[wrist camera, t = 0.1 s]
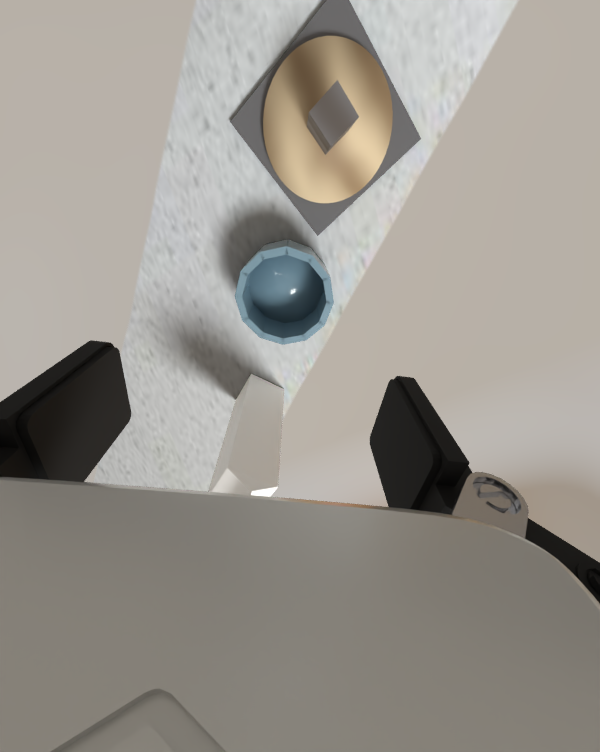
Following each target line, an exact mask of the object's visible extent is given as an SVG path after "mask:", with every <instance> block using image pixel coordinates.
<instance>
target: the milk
mask: <svg viewBox="0 0 600 752" xmlns="http://www.w3.org/2000/svg"><path fill="white" fill-rule="evenodd" d="M283 404H284V389H283V388H281V387H278V386H276V385H274V384H272V383H270V382H268V381H266V380H264V379H262V378H260V377H258V376H255V375H253V374H251V375H250V377H249V378H248V380H247V382H246V383H245V385H244V387H243V389H242V390H241V392H240V394H239V395H238V397H237V399H236V401H235V404H234V407H233V411H232V414H231V417H230V421H229V424H228V427H227V431H226V434H225V437H224V441H223V444H222V447H221V451H220V454H219V457H218V461H217V464H216V467H215V471H214V474H213V477H212V481H211V484H210V487H209V491H208V492H218V493H231V494H243V495H255V496H268V497H270V496H271V495H272V494H273V493H274V491H275V490H276V489H277V488H278V483H279V467H280V452H281V436H282V420H283Z"/></svg>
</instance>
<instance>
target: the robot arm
mask: <svg viewBox="0 0 600 752" xmlns="http://www.w3.org/2000/svg"><path fill="white" fill-rule="evenodd" d="M130 417H131V409H130V404H129V399H128V394H127V389H126V383H125V378H124V373H123V368H122V363H121V358H120V353H119V350H118V349H117V348H115V347H114V346H113V344H111V343H108V342H99V341H89V342H87V343H86V344H84V345H83V346H81V347H80V348H78V349H77V350H76V351H74V352H73V353H72V354H70V355H68V356H67V357H65V358H64V359H62V360H61V361H60V362H58V363H57V364H55V365H54V366H53V367H51V368H49V369H48V370H46V371H45V372H44V373H42V374H41V375H39V376H38V377H36V378H35V379H33V380H32V381H31V382H29V383H28V384H26V385H25V386H23V387H22V388H20V389H19V390H17V391H16V392H14V393H13V394H12V395H10V396H9V397H7V398H6V399H4V400H3V401H1V402H0V752H600V563H599V562H598V561H596V560H594V559H593V558H591V557H590V556H588V555H586V554H585V553H583V552H581V551H580V550H578V549H577V548H575V547H574V546H572V545H570V544H569V543H567V542H566V541H564V540H562V539H561V538H559V537H557V536H556V535H554V534H553V533H551V532H550V531H548V530H546V529H545V528H543V527H542V526H540V525H538V524H537V523H535V522H534V521H532V520H530V519H529V518H528V506H527V504H526V502H525V500H524V498H523V497H522V496H521V494H520V493H519V492H518V491H517V490H516V489H515V488H514V487H512V486H511V485H510V484H509V483H507V482H505V481H504V480H502V479H501V478H498V477H496V476H494V475H491V474H488V473H483V472H475V473H472V471H471V470H470V468H469V466H468V465H469V461H468V460H467V458H466V457H465V455H464V454H463V453H462V451H461V449H460V448H459V446H458V445H457V443H456V441H455V440H454V438H453V437H452V435H451V434H450V432H449V431H448V429H447V428H446V426H445V425H444V423H443V422H442V420H441V419H440V417H439V416H438V414H437V413H436V411H435V409H434V408H433V406H432V405H431V403H430V402H429V400H428V399H427V397H426V396H425V394H424V393H423V391H422V390H421V388H420V386H419V385H418V383H417V382H416V380H415V379H414V378H410V377H402V376H397V377H396V378H395V379H394V380H393V379H391V380H390V381H389V383H388V386H387V389H386V392H385V395H384V398H383V401H382V404H381V407H380V409H379V413H378V415H377V418H376V421H375V424H374V427H373V430H372V433H371V436H370V446H371V449H372V453H373V456H374V460H375V463H376V466H377V469H378V473H379V476H380V479H381V483H382V486H383V490H384V493H385V496H386V500H387V503H388V506H389V507H382V506H372V505H371V506H370V505H361V504H350V503H338V502H327V501H314V500H303V499H291V498H279V497H268V496H255V495H243V494H231V493H218V492H206V491H193V490H180V489H168V488H154V487H141V486H128V485H114V484H101V483H87V482H84V480H85V479H86V478H87V477H88V475H89V474H90V473H91V471H92V470H93V469H94V467H95V466H96V465H97V463H98V462H99V461H100V459H101V458H102V457H103V455H104V454H105V453H106V451H107V450H108V449H109V447H110V446H111V445H112V444H113V442H114V441H115V440H116V438H117V437H118V436H119V434H120V433H121V432H122V430H123V429H124V428H125V426H126V425H127V424H128V422H129V420H130Z"/></svg>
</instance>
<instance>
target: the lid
mask: <svg viewBox="0 0 600 752" xmlns="http://www.w3.org/2000/svg"><path fill="white" fill-rule="evenodd" d="M392 120H393V111H392V100H391V95H390V90H389V87H388V83H387V80H386V78H385V76H384V73H383V71H382V69H381V68H380V66H379V64H378V63H377V61H376V60H375V59H374V57H373V56H372V55H371V54H370V53H369V52H368V51H367V50H366V49H365V48H364V47H362V46H361V45H359V44H358V43H356V42H355V41H352V40H350V39H347V38H344V37H339V36H323V37H317V38H314V39H312V40H309V41H307V42H305V43H304V44H302V45H300V46H299V47H297V48H296V49H295V50H294V51H293V52H291V53H290V54H289V56H288V57H287V58H286V59H285V60H284V61H283V63H282V64H281V66H280V67H279V68H278V70H277V72H276V74H275V76H274V77H273V79H272V82H271V84H270V87H269V90H268V93H267V97H266V101H265V107H264V115H263V132H264V140H265V146H266V150H267V153H268V156H269V159H270V162H271V164H272V166H273V168H274V170H275V172H276V174H277V175H278V177H279V178H280V180H281V181H282V182H283V183H284V184H285V185H286V187H288V188H289V189H290V190H291V191H292V192H293V193H295V194H296V195H298V196H299V197H301V198H303V199H305V200H308V201H311V202H316V203H334V202H338V201H342V200H344V199H347V198H349V197H351V196H352V195H354V194H356V193H357V192H358V191H360V190H361V189H362V188H363V187H364V186H365V185H366V184H367V183H368V182H369V181H370V180H371V179H372V177H373V176H374V175H375V173H376V172H377V170H378V169H379V167H380V165H381V163H382V161H383V159H384V157H385V154H386V151H387V148H388V145H389V141H390V137H391V131H392Z"/></svg>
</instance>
